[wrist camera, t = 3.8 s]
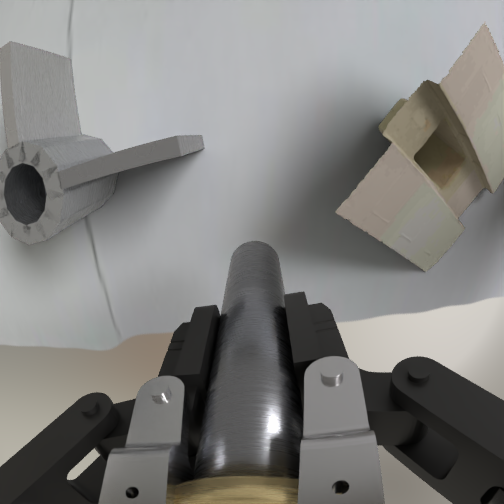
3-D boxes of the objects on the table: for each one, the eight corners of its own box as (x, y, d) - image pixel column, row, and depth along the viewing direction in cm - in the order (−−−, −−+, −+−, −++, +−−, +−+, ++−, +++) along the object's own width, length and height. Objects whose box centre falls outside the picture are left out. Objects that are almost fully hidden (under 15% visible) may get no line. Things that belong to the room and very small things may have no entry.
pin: (284, 225, 15) (354, 505, 3) (293, 288, 16) (342, 549, 4) (213, 237, 15) (122, 509, 3) (228, 298, 16) (192, 556, 4)
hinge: (181, 19, 18) (151, -27, 10) (211, 182, 22) (191, 207, 15) (38, 75, 18) (-24, 66, 11) (65, 217, 23) (7, 251, 16)
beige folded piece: (461, 92, 23) (421, -16, 12) (529, 144, 18) (543, 41, 7) (368, 209, 30) (277, 165, 19) (426, 273, 25) (373, 269, 14)
